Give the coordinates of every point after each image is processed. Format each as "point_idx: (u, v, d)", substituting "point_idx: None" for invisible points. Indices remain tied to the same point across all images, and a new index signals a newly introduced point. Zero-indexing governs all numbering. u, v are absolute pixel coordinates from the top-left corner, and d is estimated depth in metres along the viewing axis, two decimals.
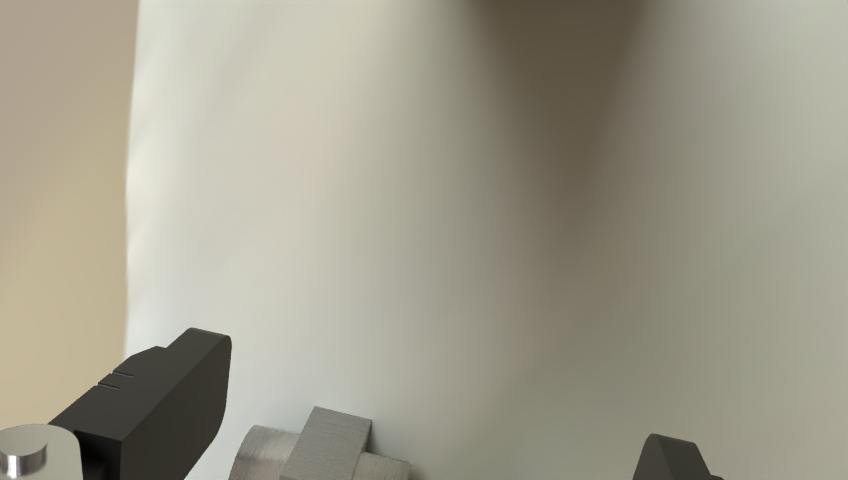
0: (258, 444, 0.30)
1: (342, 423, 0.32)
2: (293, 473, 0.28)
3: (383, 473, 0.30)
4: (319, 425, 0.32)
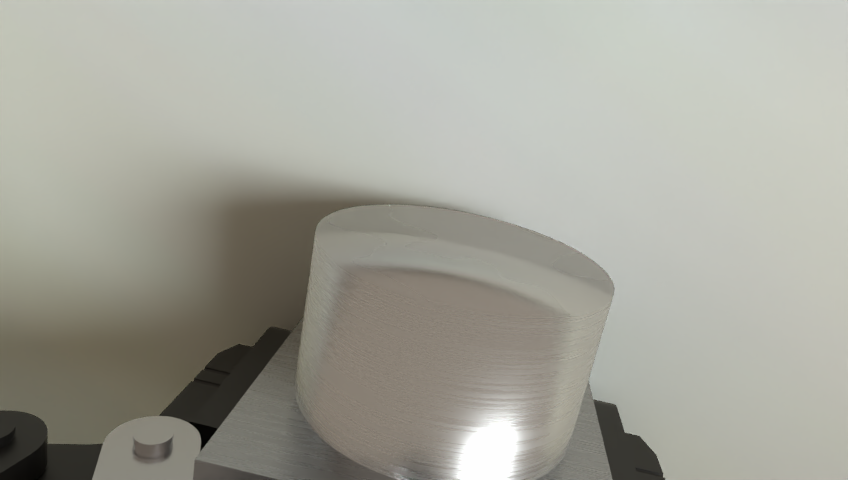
0: (599, 341, 0.09)
1: None
2: None
3: None
4: None
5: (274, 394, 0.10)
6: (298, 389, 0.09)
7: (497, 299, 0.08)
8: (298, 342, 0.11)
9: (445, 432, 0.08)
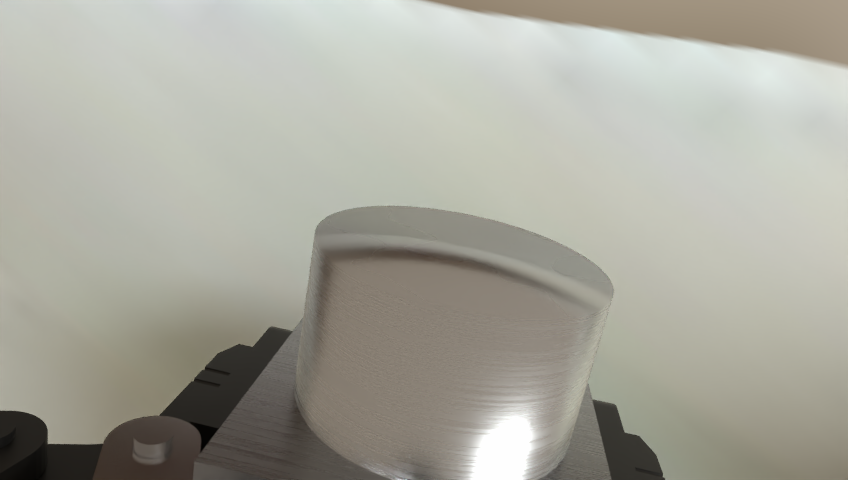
0: None
1: None
2: None
3: None
4: None
5: (274, 396, 0.10)
6: (298, 391, 0.09)
7: (496, 301, 0.08)
8: (297, 343, 0.11)
9: (444, 434, 0.08)
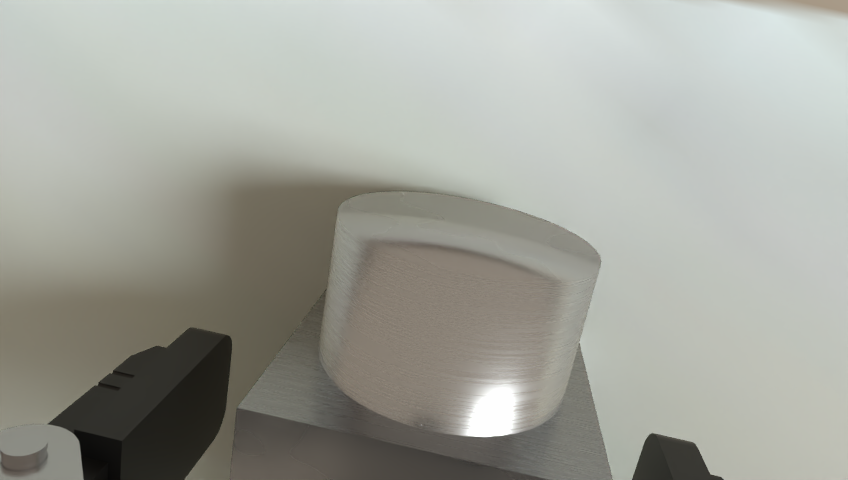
0: (588, 308, 0.10)
1: None
2: None
3: None
4: None
5: (301, 357, 0.11)
6: (322, 352, 0.11)
7: (497, 268, 0.09)
8: (319, 315, 0.12)
9: (453, 383, 0.09)
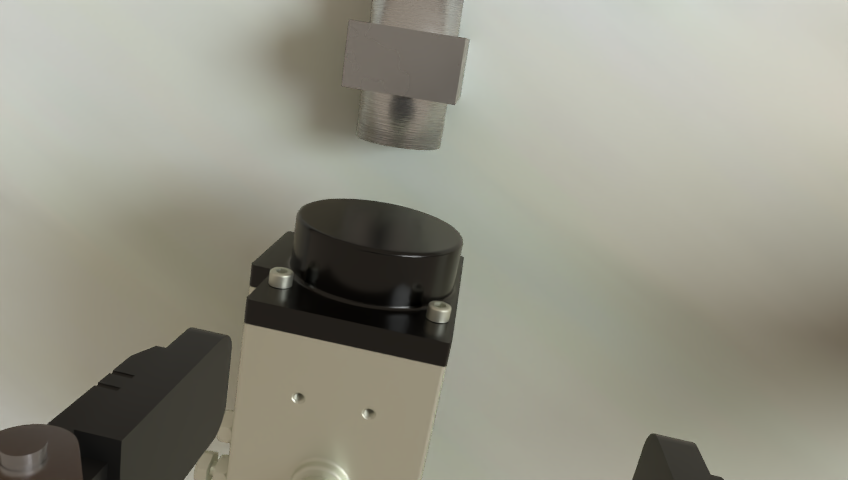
0: None
1: (463, 72, 0.34)
2: (463, 50, 0.30)
3: (442, 124, 0.33)
4: (466, 52, 0.33)
5: None
6: (372, 19, 0.31)
7: None
8: None
9: (416, 10, 0.29)
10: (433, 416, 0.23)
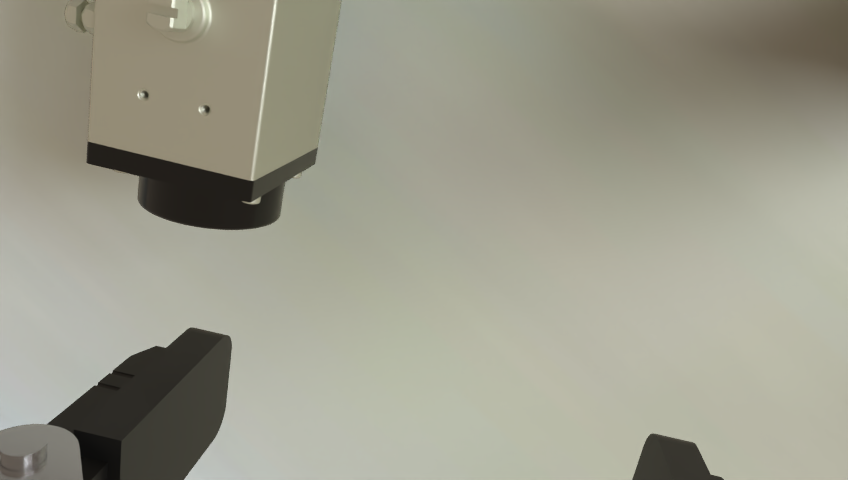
0: None
1: None
2: None
3: None
4: None
5: None
6: None
7: None
8: None
9: None
10: None
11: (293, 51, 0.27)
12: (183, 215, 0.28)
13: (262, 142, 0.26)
